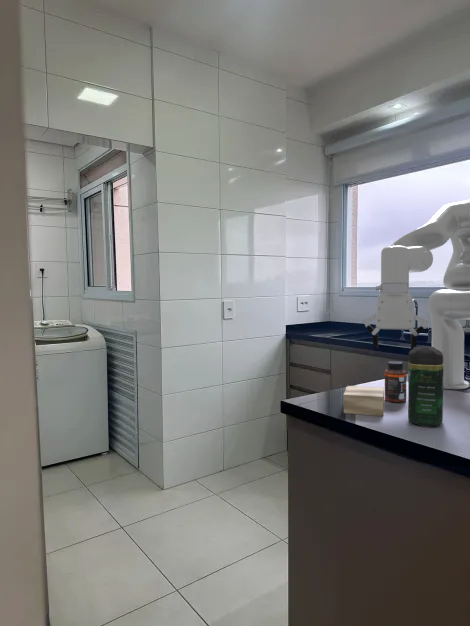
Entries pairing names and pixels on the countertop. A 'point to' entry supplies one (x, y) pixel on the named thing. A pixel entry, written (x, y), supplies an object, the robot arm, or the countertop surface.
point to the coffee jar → (425, 386)
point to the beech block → (364, 400)
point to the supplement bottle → (395, 382)
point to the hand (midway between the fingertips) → (394, 348)
